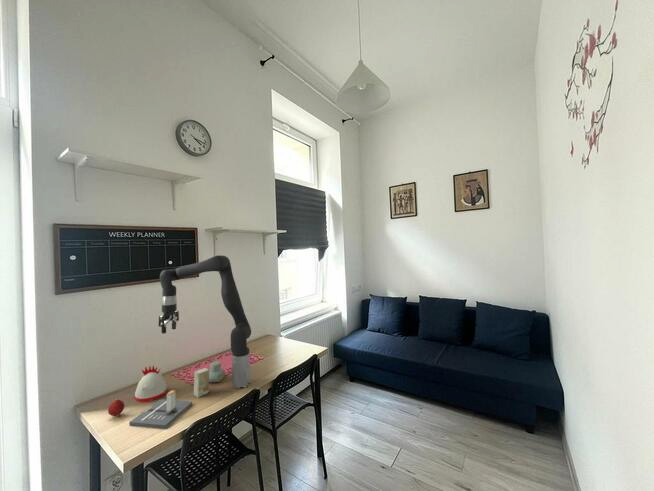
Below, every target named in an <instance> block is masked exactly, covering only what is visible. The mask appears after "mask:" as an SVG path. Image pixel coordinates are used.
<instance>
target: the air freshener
mask: <svg viewBox="0 0 654 491" xmlns="http://www.w3.org/2000/svg"><path fill="white" fill-rule="evenodd" d="M225 375H226V371H225V369H223V368H222V362H221V361H217V360H216V361H212V362H210V364H209V383H212V382H214V383H218V381H219V382H220V381H222V380H223V379H224V377H225Z"/></svg>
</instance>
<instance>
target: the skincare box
mask: <svg viewBox="0 0 654 491" xmlns="http://www.w3.org/2000/svg"><path fill="white" fill-rule="evenodd" d="M209 370H210V368H207V367H204V368H201V369H198V370H195V371H194V372H193V373H194V374H193V377H194V378H193V396H195V397H197V398H200V397H202V396H204V395H206V394H209V393H208V392H210V382H209Z"/></svg>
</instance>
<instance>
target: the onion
mask: <svg viewBox="0 0 654 491" xmlns="http://www.w3.org/2000/svg"><path fill="white" fill-rule="evenodd" d="M124 409H125V403H124V401H123V400H121V399H118V398H115V399H114V400H113V402H112V403H110V404H109V406H108V409H107V413H108V415H110V416H112V417H114V418H116V417H118V416H119V415H120V414H122V413H123V411H124Z"/></svg>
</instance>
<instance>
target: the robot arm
mask: <svg viewBox="0 0 654 491" xmlns="http://www.w3.org/2000/svg"><path fill="white" fill-rule="evenodd" d="M231 264H232V263H231V260H230V258H229V257H228V256H226V255H219V254H218V255H214V256H212V257H209V258H207V259H205V260H203V261H199V262H195V263H190V264H186V265H182V266H179V267H176V268H172V269H163V270H162V271H161V272H160V274H159V282H160V285H161V288H162V297H161V298H162V299H161V313H163V315H159V316H158V327H160V328H161V334H166V333H167V324H169V322H171V330H176V329H177V322H179V320H180V314H179V310H178V309H177V308H178V304H177V303H178V302H177V301H178V300H177V286H176V285H174V284H173V282H174V281H178V280H181V279H186V278H189V277H194V276H197V275H199V274H203V273H208V272H218V273H219V277H220V280H221V288H220V289H221V292H220V293H221V294H220V295H221V299H222V302H223V306H224V307H225V308H226V310H227V311H228V313H229V314H230V315H231V316H232V319H233V321H234V325H235V327H234V328H233V329H232V330H231V332H230V350H231V353H232V354H231V359H232V360H231V361H232V362H231V387H232V386H233V387H243V386H246V385H247V384H248V383H249V381H250V382H251V365H250V347H248V343H247V340H248V339H249V338H250V337H251V335H252V327H251V325H250V323H249V321H248V318H247V316H246V314H245V310H244V307H243V304H242V300H241V297H240V293H239V291H238V287H237V285H236V281H235V278H234V273H233V271H232V265H231ZM249 384H250V383H249ZM249 384H248V385H249ZM233 387H232V388H233Z"/></svg>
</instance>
